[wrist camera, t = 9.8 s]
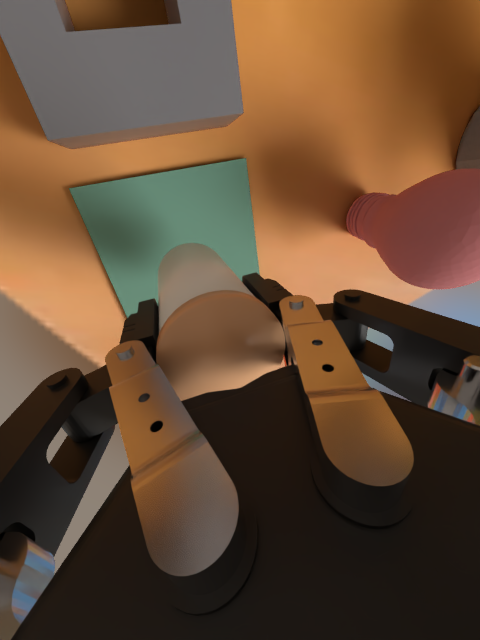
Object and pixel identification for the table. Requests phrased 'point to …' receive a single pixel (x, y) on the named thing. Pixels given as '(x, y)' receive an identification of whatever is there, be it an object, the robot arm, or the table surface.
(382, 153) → the table surface
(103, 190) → the mat
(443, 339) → the robot arm
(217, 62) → the plate with square hole
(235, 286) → the tan and white capsule
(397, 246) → the light bulb
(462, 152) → the coffeepot
